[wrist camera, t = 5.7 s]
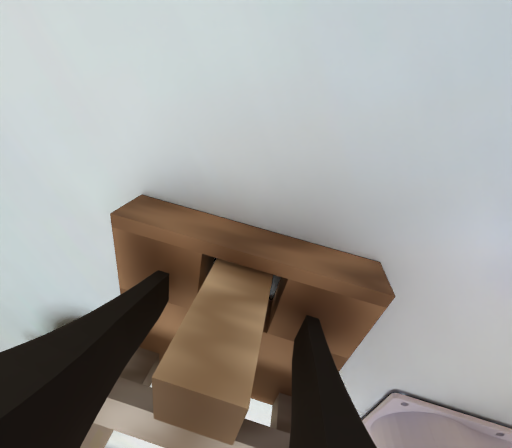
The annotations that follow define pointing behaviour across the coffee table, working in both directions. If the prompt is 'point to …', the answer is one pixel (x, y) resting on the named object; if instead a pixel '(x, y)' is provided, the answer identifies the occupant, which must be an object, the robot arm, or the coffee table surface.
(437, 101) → the coffee table surface
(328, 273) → the socket block
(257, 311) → the peg
